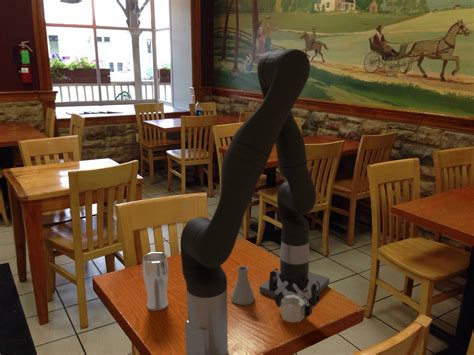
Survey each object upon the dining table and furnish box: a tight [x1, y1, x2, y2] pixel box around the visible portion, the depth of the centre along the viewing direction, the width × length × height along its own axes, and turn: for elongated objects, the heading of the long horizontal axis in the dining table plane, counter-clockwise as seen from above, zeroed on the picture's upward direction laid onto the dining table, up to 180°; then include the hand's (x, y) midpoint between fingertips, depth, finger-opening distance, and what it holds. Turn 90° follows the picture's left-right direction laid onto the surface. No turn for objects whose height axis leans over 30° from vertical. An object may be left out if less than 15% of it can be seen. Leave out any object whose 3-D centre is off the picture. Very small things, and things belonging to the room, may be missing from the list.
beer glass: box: [142, 251, 169, 312], centre depth 116 cm, size 7×7×15 cm
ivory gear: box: [280, 295, 305, 323], centre depth 112 cm, size 6×6×4 cm
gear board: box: [259, 270, 330, 299], centre depth 126 cm, size 17×15×6 cm
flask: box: [230, 265, 256, 306], centre depth 119 cm, size 7×7×10 cm
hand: (293, 310), depth 112 cm, fingers open, 8 cm apart
